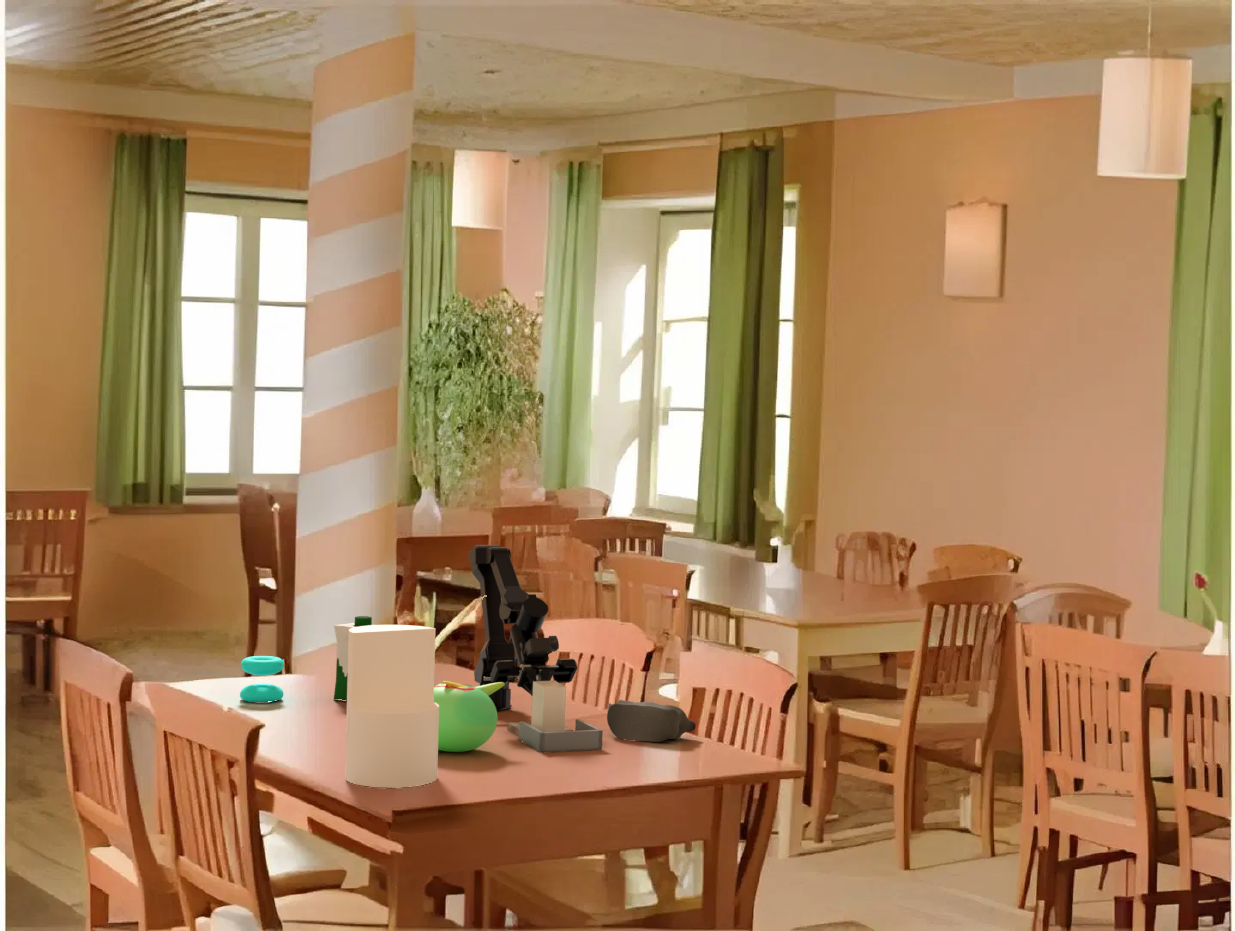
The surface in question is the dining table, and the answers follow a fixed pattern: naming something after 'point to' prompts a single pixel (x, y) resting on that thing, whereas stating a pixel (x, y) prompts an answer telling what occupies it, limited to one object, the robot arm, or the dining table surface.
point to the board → (514, 727)
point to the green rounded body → (465, 715)
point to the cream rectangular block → (548, 706)
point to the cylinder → (391, 706)
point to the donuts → (262, 667)
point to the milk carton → (345, 654)
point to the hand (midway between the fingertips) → (542, 703)
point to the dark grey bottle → (647, 721)
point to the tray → (562, 738)
